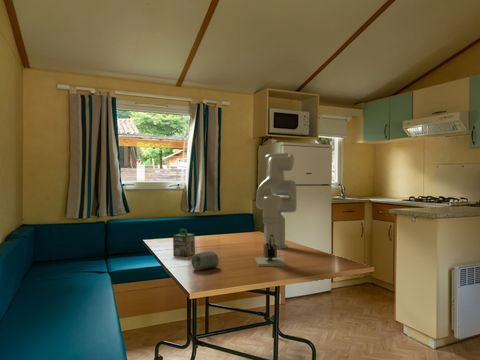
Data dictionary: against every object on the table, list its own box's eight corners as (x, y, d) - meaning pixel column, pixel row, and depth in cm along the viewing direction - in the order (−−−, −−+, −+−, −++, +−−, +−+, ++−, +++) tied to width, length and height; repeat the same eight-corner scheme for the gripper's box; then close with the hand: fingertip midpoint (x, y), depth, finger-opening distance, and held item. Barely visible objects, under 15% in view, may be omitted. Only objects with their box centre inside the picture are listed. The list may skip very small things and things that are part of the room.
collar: (263, 255, 179) (263, 244, 179) (274, 255, 179) (274, 243, 179) (265, 258, 173) (265, 246, 173) (276, 257, 173) (276, 246, 173)
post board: (255, 259, 182) (255, 244, 182) (281, 259, 183) (281, 244, 183) (258, 266, 168) (258, 249, 168) (286, 265, 169) (286, 249, 169)
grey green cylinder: (196, 266, 154) (197, 245, 159) (187, 272, 161) (188, 251, 166) (222, 270, 161) (222, 249, 166) (213, 275, 168) (213, 255, 173)
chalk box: (195, 253, 197) (195, 228, 197) (186, 257, 188) (186, 230, 188) (182, 252, 201) (182, 227, 201) (172, 255, 192) (172, 229, 192)
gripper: (260, 218, 184) (260, 252, 184) (265, 222, 167) (265, 259, 167) (274, 218, 185) (274, 251, 185) (280, 222, 167) (280, 259, 167)
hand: (270, 255), depth 176 cm, fingers closed on collar, 6 cm apart
